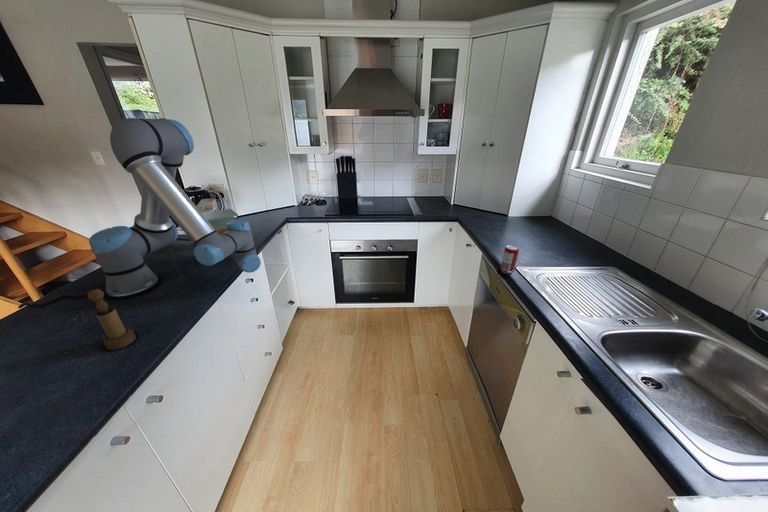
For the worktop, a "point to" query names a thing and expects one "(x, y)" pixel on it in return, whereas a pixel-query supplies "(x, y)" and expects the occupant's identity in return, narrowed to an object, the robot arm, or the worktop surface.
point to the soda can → (509, 258)
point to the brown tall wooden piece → (111, 323)
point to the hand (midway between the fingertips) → (224, 235)
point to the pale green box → (220, 218)
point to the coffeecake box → (207, 205)
